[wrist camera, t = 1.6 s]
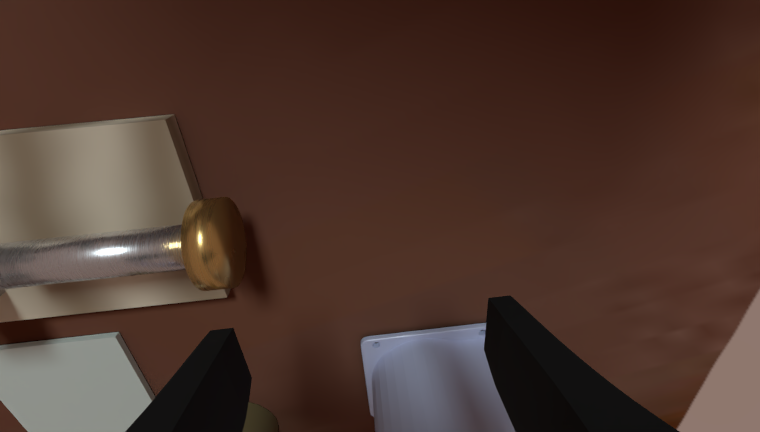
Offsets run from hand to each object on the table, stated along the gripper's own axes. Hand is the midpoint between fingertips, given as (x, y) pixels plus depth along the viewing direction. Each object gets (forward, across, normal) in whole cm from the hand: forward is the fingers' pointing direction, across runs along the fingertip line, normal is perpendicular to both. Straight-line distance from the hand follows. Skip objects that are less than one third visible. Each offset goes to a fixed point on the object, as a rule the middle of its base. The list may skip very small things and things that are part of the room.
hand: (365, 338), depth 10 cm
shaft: (+9, +11, +1) cm, 14 cm away
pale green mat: (+10, +20, +13) cm, 26 cm away
